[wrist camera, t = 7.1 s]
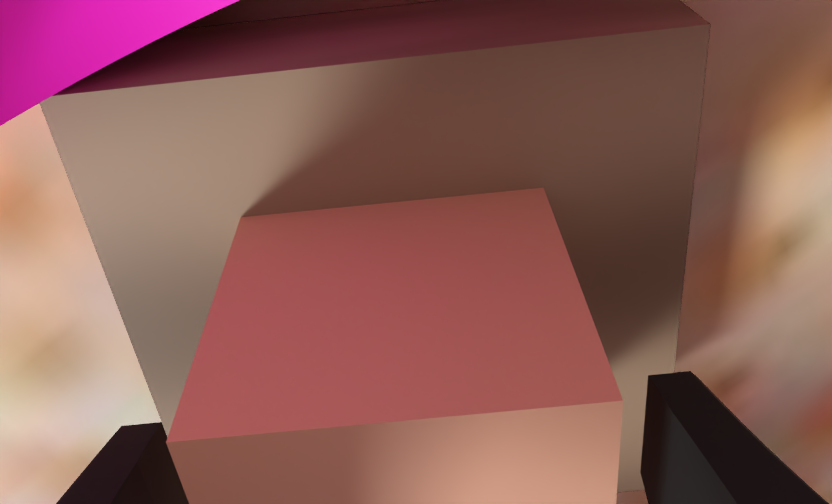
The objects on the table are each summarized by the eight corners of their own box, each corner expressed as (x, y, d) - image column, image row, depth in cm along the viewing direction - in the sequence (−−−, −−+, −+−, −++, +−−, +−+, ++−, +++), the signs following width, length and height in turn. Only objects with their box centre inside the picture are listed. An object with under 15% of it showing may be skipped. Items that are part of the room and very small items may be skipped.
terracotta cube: (544, 410, 15) (605, 658, 11) (294, 434, 15) (258, 687, 11) (543, 187, 12) (623, 400, 8) (240, 217, 13) (165, 441, 8)
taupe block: (625, 392, 19) (662, 488, 16) (227, 430, 19) (203, 530, 17) (650, -23, 14) (710, 24, 11) (101, 38, 14) (37, 97, 11)
